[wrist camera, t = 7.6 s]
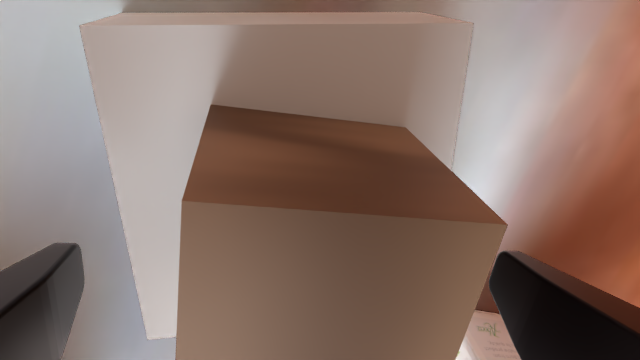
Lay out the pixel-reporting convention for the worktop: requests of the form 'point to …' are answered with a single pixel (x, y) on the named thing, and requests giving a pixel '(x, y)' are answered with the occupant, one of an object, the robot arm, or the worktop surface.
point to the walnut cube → (326, 243)
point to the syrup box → (487, 339)
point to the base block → (252, 101)
